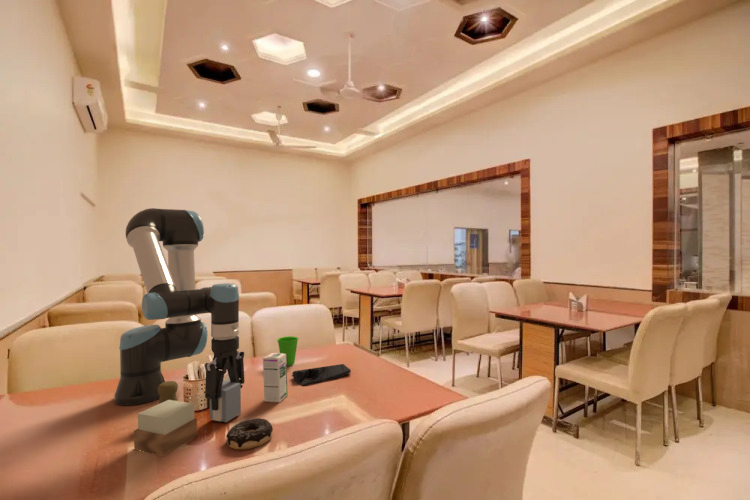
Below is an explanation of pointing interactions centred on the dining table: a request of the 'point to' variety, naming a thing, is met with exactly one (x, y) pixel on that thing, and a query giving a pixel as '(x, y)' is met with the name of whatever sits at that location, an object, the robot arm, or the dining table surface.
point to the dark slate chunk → (320, 374)
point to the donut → (249, 434)
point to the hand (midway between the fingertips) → (226, 414)
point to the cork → (167, 391)
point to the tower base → (165, 439)
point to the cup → (288, 348)
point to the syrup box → (275, 377)
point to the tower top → (165, 417)
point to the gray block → (229, 400)
